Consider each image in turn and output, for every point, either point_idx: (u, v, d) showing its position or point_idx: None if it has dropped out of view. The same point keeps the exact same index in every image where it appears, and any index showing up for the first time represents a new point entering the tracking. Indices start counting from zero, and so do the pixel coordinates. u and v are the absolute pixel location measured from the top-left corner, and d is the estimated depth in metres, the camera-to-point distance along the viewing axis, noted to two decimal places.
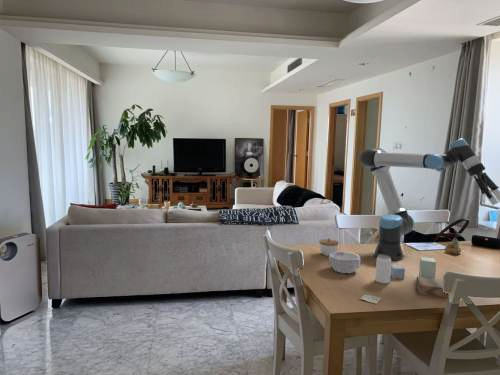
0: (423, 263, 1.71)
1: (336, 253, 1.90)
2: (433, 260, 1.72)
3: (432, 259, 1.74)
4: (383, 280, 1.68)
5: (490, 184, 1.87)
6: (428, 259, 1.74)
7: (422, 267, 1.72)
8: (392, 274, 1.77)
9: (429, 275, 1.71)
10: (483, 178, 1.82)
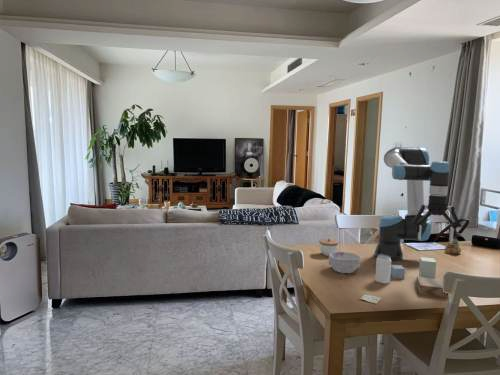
0: (423, 263, 1.71)
1: (336, 253, 1.90)
2: (433, 260, 1.72)
3: (432, 259, 1.74)
4: (383, 280, 1.68)
5: (447, 220, 1.69)
6: (428, 259, 1.74)
7: (422, 267, 1.72)
8: (392, 274, 1.77)
9: (429, 275, 1.71)
10: (429, 212, 1.70)
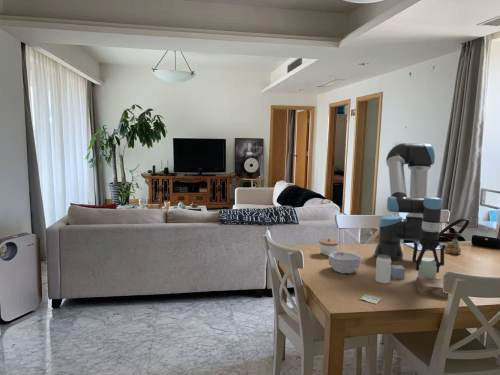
0: (423, 263, 1.71)
1: (336, 253, 1.90)
2: (433, 260, 1.72)
3: (432, 259, 1.74)
4: (383, 280, 1.68)
5: (434, 257, 1.72)
6: (428, 259, 1.74)
7: (422, 267, 1.72)
8: (392, 274, 1.77)
9: (429, 275, 1.71)
10: (423, 248, 1.72)
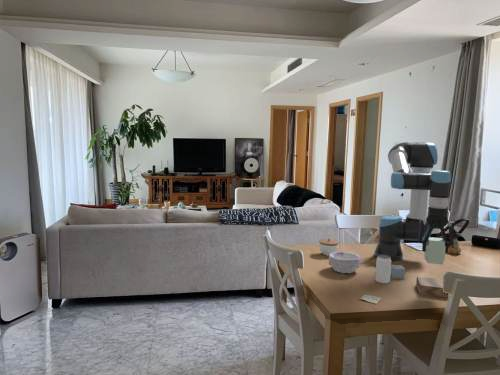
0: (430, 243, 1.56)
1: (336, 253, 1.90)
2: (441, 240, 1.57)
3: (440, 239, 1.59)
4: (383, 280, 1.68)
5: (442, 236, 1.57)
6: (436, 238, 1.59)
7: (429, 247, 1.57)
8: (392, 274, 1.77)
9: (437, 256, 1.56)
10: (430, 226, 1.57)
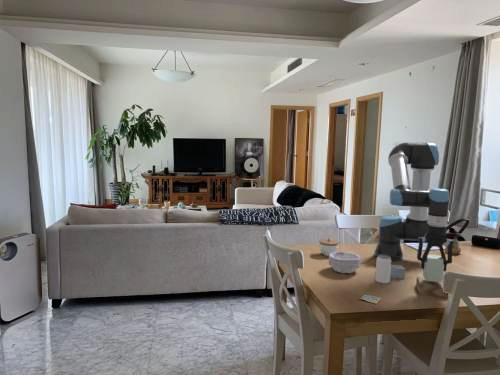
0: (429, 261, 1.57)
1: (336, 253, 1.90)
2: (440, 257, 1.58)
3: (439, 256, 1.60)
4: (383, 280, 1.68)
5: (441, 254, 1.58)
6: (435, 256, 1.60)
7: (428, 265, 1.58)
8: (392, 274, 1.77)
9: (436, 274, 1.57)
10: (429, 244, 1.58)
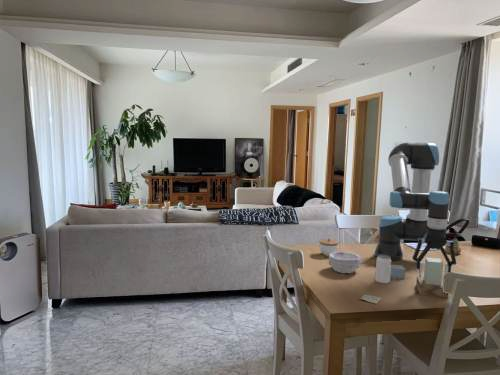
0: (429, 264, 1.57)
1: (336, 253, 1.90)
2: (439, 261, 1.58)
3: (438, 259, 1.60)
4: (383, 280, 1.68)
5: None
6: (434, 259, 1.60)
7: (428, 268, 1.58)
8: (392, 274, 1.77)
9: (435, 277, 1.57)
10: (427, 246, 1.58)
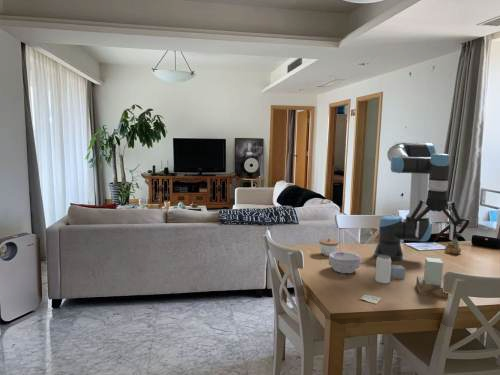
0: (429, 264, 1.57)
1: (336, 253, 1.90)
2: (439, 261, 1.58)
3: (438, 259, 1.60)
4: (383, 280, 1.68)
5: None
6: (434, 259, 1.60)
7: (428, 268, 1.58)
8: (392, 274, 1.77)
9: (435, 277, 1.57)
10: (428, 207, 1.59)
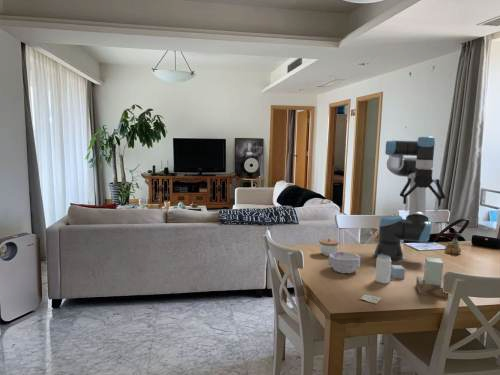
0: (429, 264, 1.57)
1: (336, 253, 1.90)
2: (439, 261, 1.58)
3: (438, 259, 1.60)
4: (383, 280, 1.68)
5: (433, 192, 1.79)
6: (434, 259, 1.60)
7: (428, 268, 1.58)
8: (392, 274, 1.77)
9: (435, 277, 1.57)
10: (415, 184, 1.80)
